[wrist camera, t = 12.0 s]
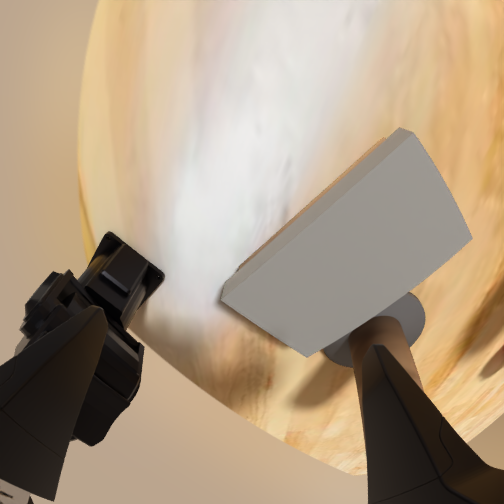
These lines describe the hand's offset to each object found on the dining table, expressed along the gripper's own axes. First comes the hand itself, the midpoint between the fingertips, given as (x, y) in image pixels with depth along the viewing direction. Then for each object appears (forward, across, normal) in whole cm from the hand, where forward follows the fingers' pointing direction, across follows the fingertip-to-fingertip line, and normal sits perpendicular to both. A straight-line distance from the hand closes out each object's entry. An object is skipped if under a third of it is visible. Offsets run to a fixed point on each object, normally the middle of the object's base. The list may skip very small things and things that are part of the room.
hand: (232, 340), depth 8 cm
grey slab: (+13, -7, +3) cm, 15 cm away
